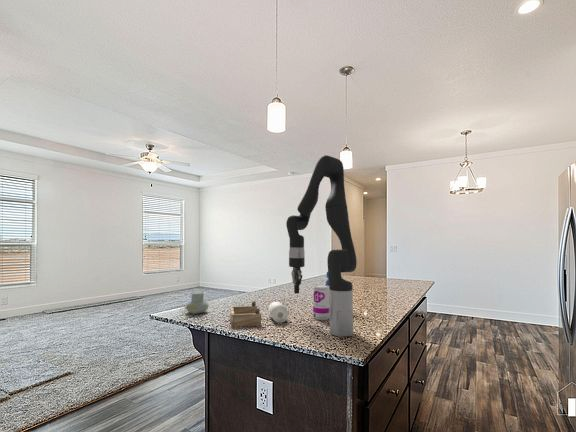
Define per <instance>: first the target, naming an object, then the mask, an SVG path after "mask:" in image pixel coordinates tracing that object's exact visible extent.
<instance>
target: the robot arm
mask: <svg viewBox="0 0 576 432" xmlns="http://www.w3.org/2000/svg"><path fill="white" fill-rule="evenodd" d="M344 170H345V169H344V163H343V162H342V161H341V160H340V159H338V158H337V157H334V156H331V155H326V154H324V155H322V156H320V157H319V158H318V160H317V162H316V164H315V166H314V169H313V172H312V175H311V177H310V180H309V182H308V183H309V184H308V186H307V188H306V190H305V193H304V194H303V197H302V199H301V200H300V201H299V204H298V205H297V212H298V213H299V215H289V216H288V217H287V219H286V224H285V225H286V229H287V235H288V238H289V251H288V267H290V268H292V270H291V280H292V284H293V287H294V288H293V293H294V294H300V285H301V284H302V280H303V274H302V273H303V272H302V269H301V268H305V259H306V258H305V257H306V256H305V238H304V237H305V236H304V235H301V234H300V232H299V231H303V230H305V229H306V228H307V227H308V225H309V222H310V218H311V215H312V213H313V211H314V209H315V207H316V205H317V203H318V200H319V191H320V190H319V188H320V184H321V183H322V181H323V179H324V178H329V183H330V193H329V195H328V197H327V199H326V203H325V208H324V209H325V214H326V216H325V217H326V222H327V223H328V225H329V227H330V228H331V229H332V230H333V232H334V234H335V235H336V236H337V238H338V239H339V242H340V247H341V249H331V250H330V251H329V252H328V255H327V261H326V262H327V263H326V264H327V272H328V278H327V279H328V281H329V287H330V318H329V334H330V335H332V336H335V337H336V336H337V337H338V338H340V337H341V338H342V337H353V336H354V299H353V297H354V295H353V293H354V292H353V291H354V289H353V282H351V281H349V280H346V279H344V278H343V277H342V273H353V272H355V270H356V268H357V265H358V264H357V263H358V261H357V255H356V249H355V246H354V242H353V237H352V233H351V226H350V219H349V211H348V204H347V200H346V199H347V198H346V190H345V188H346V187H345V173H344V172H345V171H344Z"/></svg>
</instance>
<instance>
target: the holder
mask: <svg viewBox="0 0 576 432" xmlns="http://www.w3.org/2000/svg"><path fill="white" fill-rule="evenodd" d="M256 303H257V302H256V301H251V305H238V306H230V309H229V310H230V311H229V312H230V313H229V314H230V315H229V317H230V319H231V320H230V326H231V328H236V327H237V328H238V327H239V326H240V327H255V326H262V312H260V308H258V305H256Z"/></svg>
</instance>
